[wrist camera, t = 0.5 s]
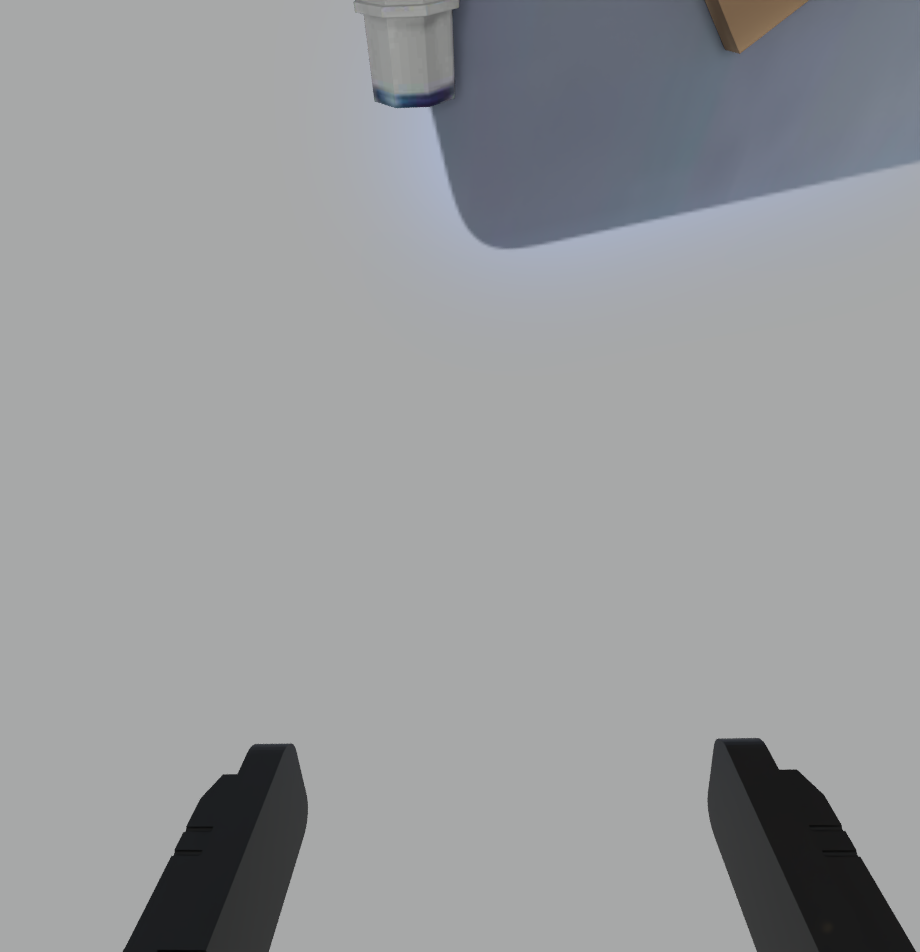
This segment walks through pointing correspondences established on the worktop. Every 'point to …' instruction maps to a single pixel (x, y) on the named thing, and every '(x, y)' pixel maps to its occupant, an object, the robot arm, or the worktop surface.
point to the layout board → (748, 19)
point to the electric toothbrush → (410, 50)
